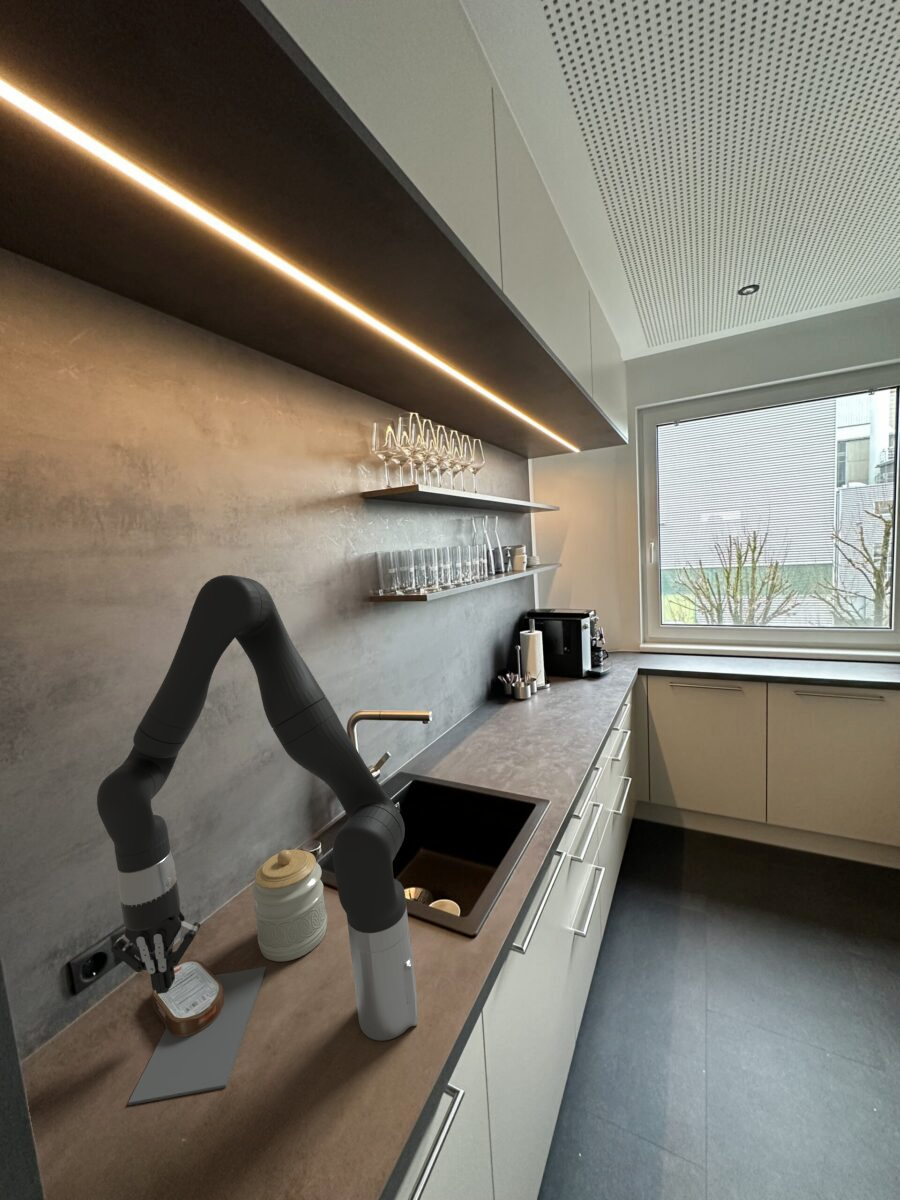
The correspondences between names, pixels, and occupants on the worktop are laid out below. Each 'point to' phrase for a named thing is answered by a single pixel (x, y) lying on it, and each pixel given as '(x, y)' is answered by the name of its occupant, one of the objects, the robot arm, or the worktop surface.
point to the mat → (202, 1046)
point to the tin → (190, 999)
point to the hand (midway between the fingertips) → (164, 988)
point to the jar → (289, 905)
